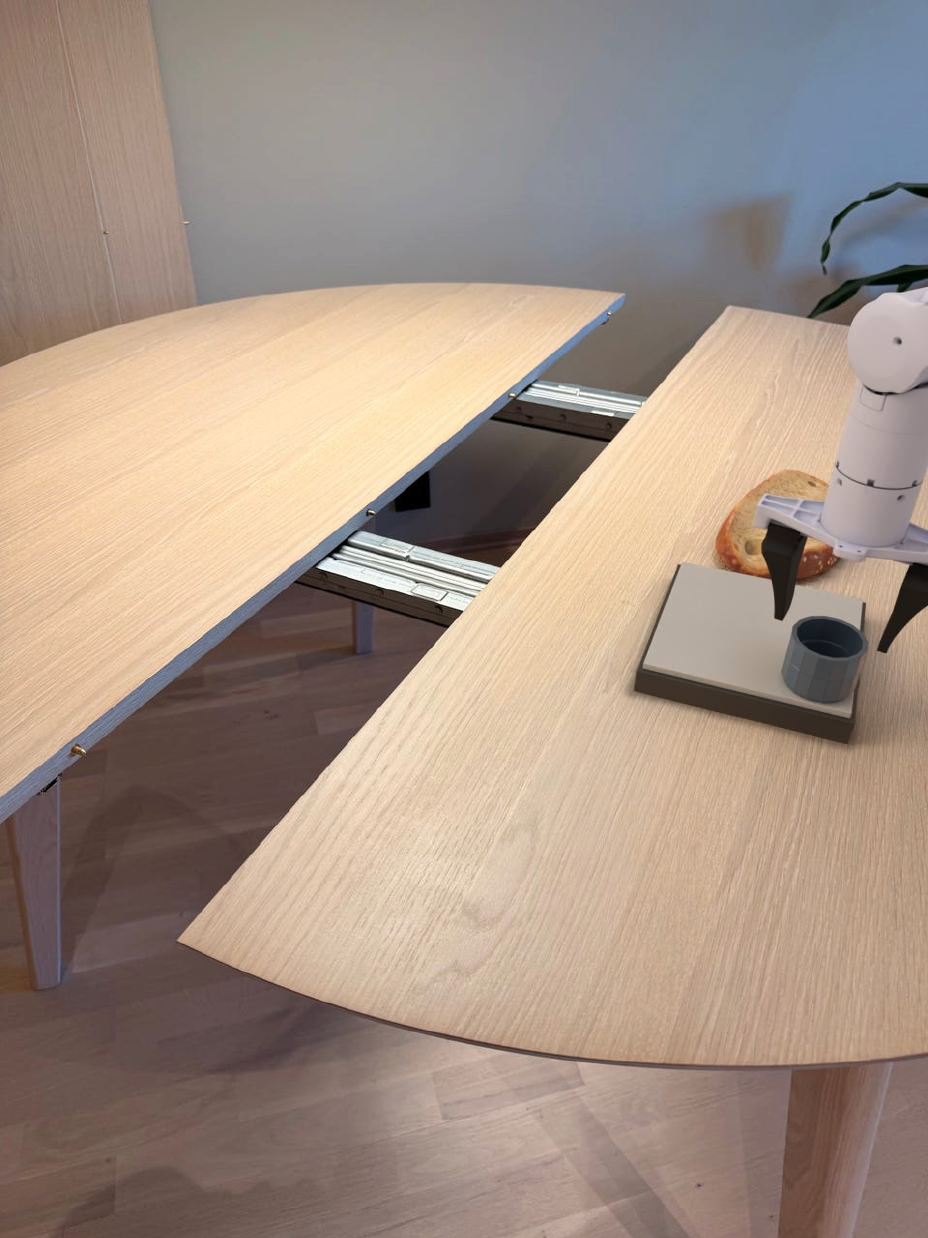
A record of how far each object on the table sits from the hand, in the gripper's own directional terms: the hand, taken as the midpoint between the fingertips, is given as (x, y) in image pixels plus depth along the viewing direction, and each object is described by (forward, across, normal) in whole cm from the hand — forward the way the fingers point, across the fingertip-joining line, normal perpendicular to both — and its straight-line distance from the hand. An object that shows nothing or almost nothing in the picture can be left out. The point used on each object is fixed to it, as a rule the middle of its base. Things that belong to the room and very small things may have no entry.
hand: (831, 628), depth 72 cm
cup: (+5, 0, 0) cm, 5 cm away
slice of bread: (+8, -10, +26) cm, 29 cm away
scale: (+8, -6, +4) cm, 11 cm away
